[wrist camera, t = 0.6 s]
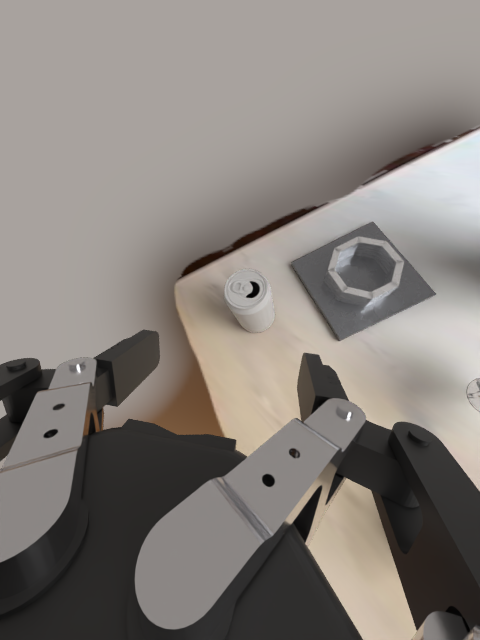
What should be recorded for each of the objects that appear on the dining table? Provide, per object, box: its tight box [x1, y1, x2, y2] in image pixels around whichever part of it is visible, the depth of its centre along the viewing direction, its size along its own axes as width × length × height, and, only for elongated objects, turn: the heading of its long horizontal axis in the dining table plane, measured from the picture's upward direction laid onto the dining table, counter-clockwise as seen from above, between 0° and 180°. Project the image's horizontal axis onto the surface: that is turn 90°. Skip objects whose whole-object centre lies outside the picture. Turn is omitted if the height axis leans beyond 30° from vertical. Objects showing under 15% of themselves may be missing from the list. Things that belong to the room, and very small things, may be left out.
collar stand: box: [291, 222, 436, 341], centre depth 36 cm, size 16×16×4 cm
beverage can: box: [224, 269, 275, 333], centre depth 34 cm, size 6×6×12 cm
